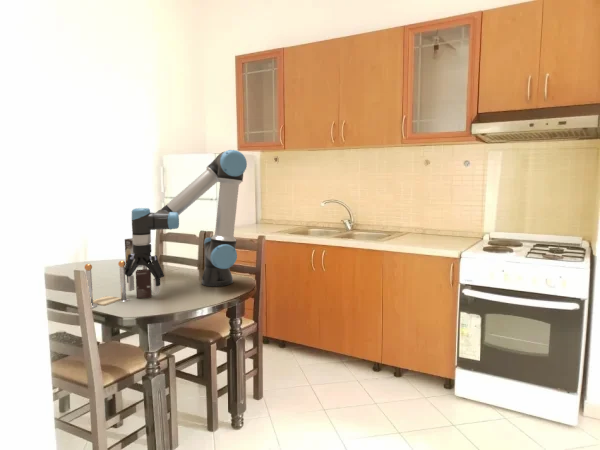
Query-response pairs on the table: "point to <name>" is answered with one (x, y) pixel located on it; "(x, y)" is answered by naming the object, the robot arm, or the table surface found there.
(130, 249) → the coffee box
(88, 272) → the end post
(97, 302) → the pad
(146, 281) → the box
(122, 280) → the corner post
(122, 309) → the table surface
